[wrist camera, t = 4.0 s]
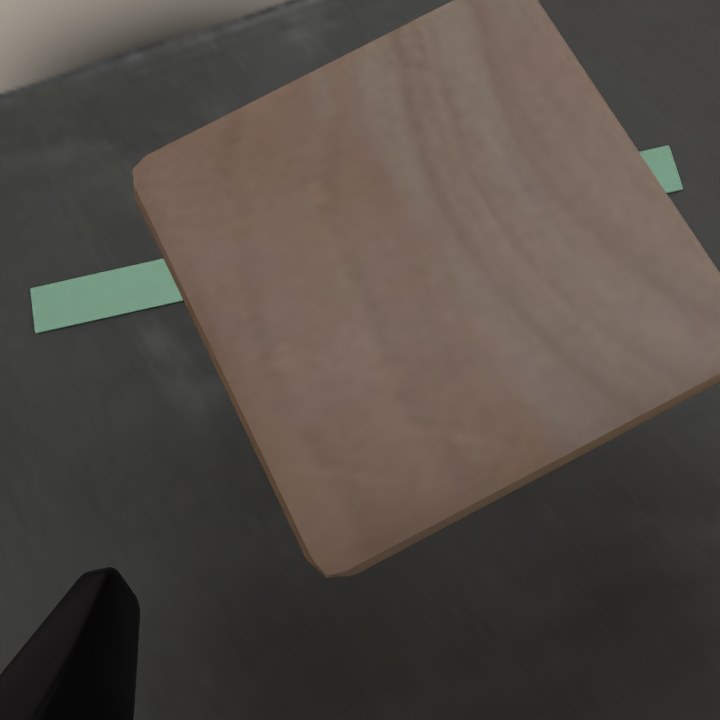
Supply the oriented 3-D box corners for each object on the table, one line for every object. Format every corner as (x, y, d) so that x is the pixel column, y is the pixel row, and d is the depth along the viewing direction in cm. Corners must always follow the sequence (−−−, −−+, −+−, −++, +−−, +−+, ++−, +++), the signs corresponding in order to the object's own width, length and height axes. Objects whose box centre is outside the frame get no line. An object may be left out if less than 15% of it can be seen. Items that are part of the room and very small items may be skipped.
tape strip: (36, 333, 20) (35, 333, 20) (31, 289, 20) (30, 288, 20) (682, 190, 19) (683, 189, 19) (667, 146, 20) (668, 145, 20)
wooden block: (473, 437, 18) (791, 350, 4) (380, 486, 18) (316, 599, 4) (376, 261, 20) (316, -353, 5) (288, 306, 19) (-49, -176, 5)
